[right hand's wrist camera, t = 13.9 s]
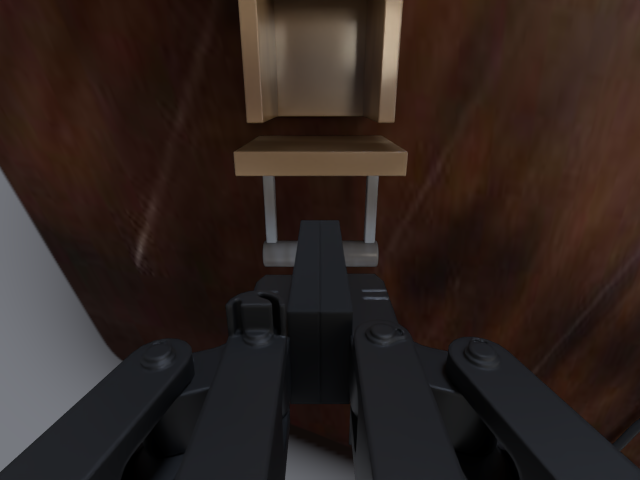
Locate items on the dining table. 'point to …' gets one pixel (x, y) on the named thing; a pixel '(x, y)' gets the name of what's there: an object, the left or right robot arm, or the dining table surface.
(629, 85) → the dining table surface
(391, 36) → the drawer
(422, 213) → the dining table surface
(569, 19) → the dining table surface
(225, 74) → the dining table surface
